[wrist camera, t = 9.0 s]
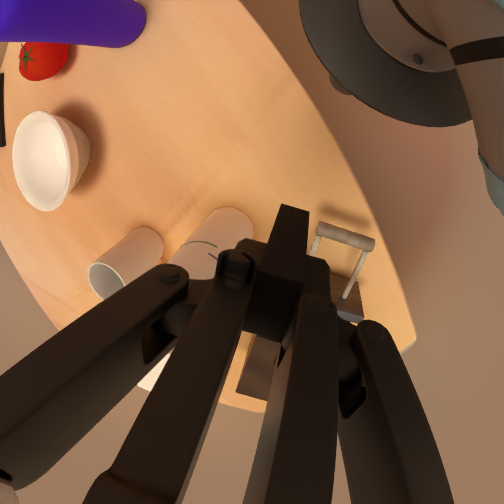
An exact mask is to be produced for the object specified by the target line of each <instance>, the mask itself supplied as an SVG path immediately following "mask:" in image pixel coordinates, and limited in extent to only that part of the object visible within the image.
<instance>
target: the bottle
mask: <svg viewBox="0 0 504 504" xmlns="http://www.w3.org/2000/svg"><path fill="white" fill-rule="evenodd" d="M145 21H146V13H145V10H144V8H143V7H142V6H141V5H140V4H139V3H137V2H135V1H133V0H0V42H47V43H65V44H78V45H89V46H99V47H109V48H119V47H123V46H126V45H128V44H130V43H131V42H132V41H134V40H135V39H136V38H137V37H138V36H139V35H140V33H141V32H142V30H143V28H144V25H145Z"/></svg>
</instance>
